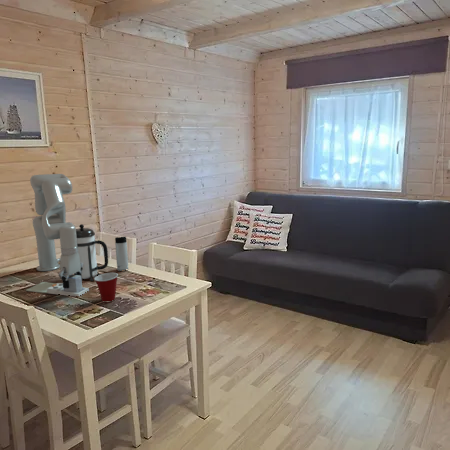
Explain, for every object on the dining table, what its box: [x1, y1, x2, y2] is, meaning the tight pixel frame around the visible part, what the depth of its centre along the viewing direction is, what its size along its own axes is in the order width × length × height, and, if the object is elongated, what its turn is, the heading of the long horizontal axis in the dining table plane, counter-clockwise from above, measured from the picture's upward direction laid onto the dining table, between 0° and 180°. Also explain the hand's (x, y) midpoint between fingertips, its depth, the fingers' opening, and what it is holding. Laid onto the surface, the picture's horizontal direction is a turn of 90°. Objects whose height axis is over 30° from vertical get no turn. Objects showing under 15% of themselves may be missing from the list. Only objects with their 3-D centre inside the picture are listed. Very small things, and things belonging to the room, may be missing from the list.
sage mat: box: [25, 281, 58, 294], centre depth 204 cm, size 12×12×1 cm
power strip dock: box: [46, 282, 90, 297], centre depth 197 cm, size 8×18×3 cm, turn 73°
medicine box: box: [64, 274, 83, 293], centre depth 196 cm, size 8×4×9 cm, turn 71°
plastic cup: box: [93, 272, 119, 302], centre depth 186 cm, size 11×11×12 cm
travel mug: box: [114, 236, 129, 272], centre depth 229 cm, size 6×7×20 cm
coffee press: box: [73, 223, 109, 282], centre depth 215 cm, size 17×16×30 cm
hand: (72, 284), depth 196 cm, fingers open, 9 cm apart
